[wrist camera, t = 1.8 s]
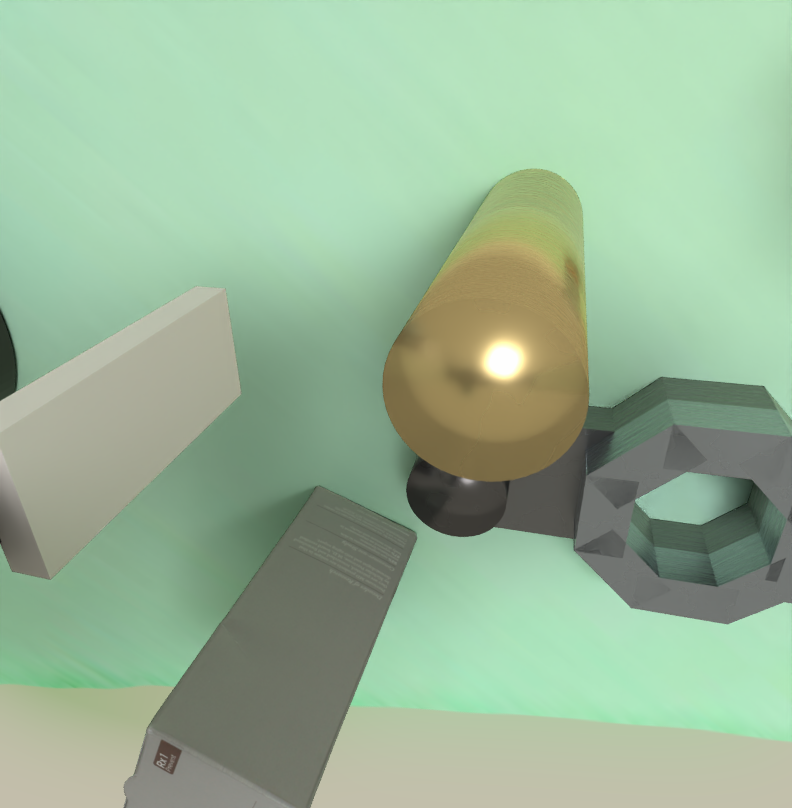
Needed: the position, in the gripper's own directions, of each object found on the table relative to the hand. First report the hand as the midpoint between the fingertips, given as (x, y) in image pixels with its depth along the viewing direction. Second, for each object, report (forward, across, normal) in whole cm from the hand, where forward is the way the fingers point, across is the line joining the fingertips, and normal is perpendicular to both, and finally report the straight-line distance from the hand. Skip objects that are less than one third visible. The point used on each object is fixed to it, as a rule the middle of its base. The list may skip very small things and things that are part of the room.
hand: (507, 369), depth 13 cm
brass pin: (+14, -1, 0) cm, 14 cm away
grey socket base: (+14, +7, -11) cm, 19 cm away
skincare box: (+14, -10, -19) cm, 25 cm away
